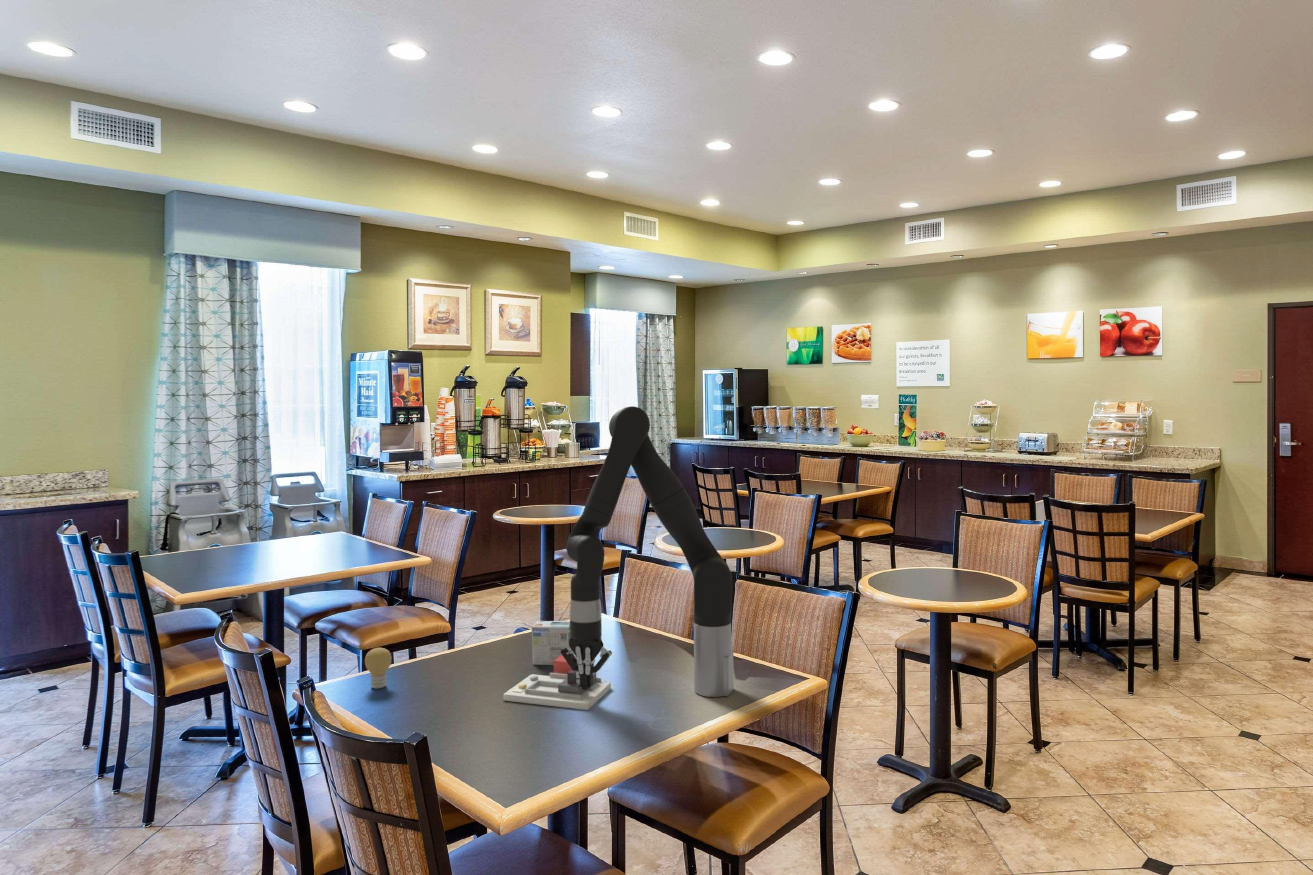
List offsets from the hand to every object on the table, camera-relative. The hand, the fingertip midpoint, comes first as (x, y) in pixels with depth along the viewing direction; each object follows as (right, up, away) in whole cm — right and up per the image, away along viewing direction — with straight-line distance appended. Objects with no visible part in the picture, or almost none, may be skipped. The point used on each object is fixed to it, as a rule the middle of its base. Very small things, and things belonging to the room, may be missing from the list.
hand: (586, 688), depth 193 cm
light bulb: (-54, -3, +11) cm, 55 cm away
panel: (-7, -3, +5) cm, 9 cm away
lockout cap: (-7, -3, +17) cm, 19 cm away
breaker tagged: (-4, -2, +1) cm, 4 cm away
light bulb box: (-12, -2, +30) cm, 33 cm away
